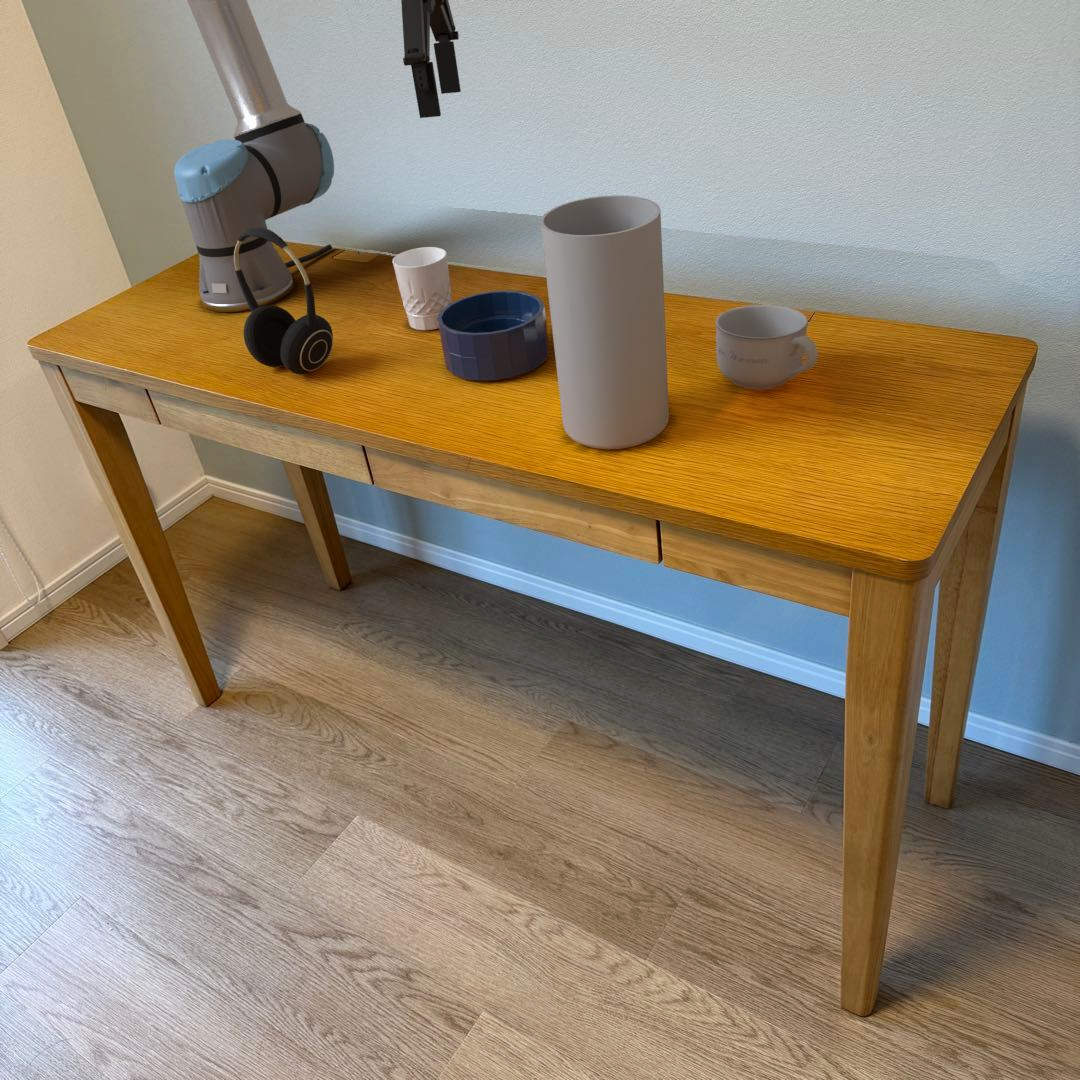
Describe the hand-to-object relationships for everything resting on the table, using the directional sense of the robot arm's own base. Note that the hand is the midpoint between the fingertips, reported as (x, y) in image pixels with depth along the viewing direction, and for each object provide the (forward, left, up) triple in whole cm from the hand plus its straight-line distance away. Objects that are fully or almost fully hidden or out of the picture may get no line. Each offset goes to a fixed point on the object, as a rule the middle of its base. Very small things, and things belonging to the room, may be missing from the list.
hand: (441, 104), depth 138 cm
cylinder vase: (+40, +25, -29) cm, 55 cm away
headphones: (+21, -22, -29) cm, 42 cm away
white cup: (+7, -5, -29) cm, 30 cm away
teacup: (+31, +43, -29) cm, 60 cm away
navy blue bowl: (+21, +8, -29) cm, 36 cm away
